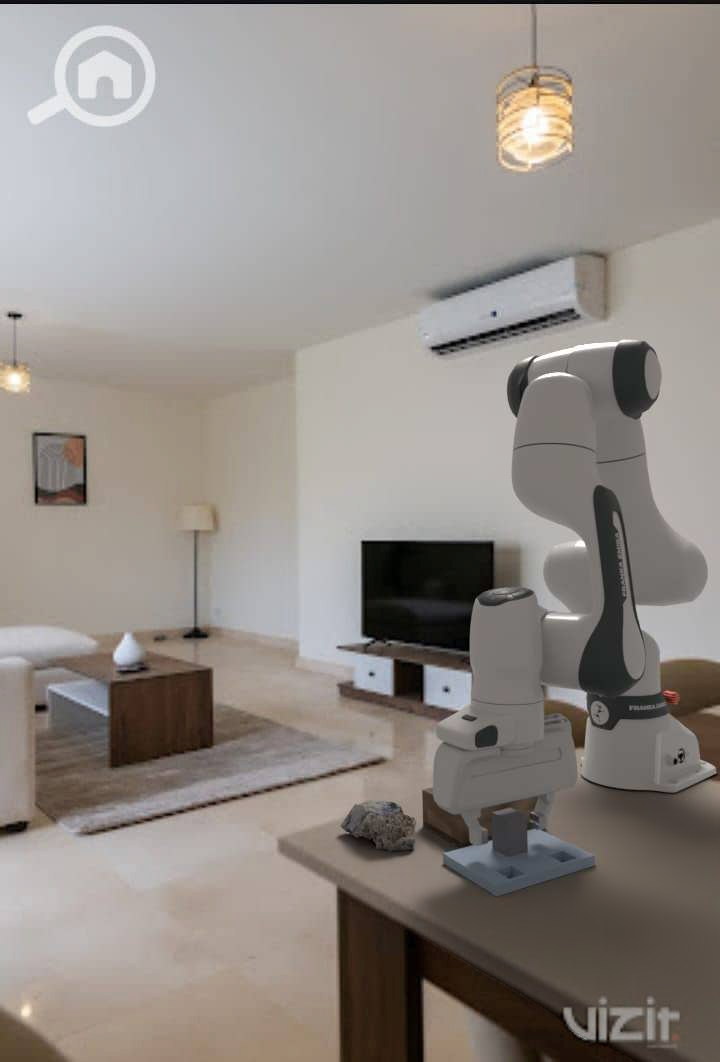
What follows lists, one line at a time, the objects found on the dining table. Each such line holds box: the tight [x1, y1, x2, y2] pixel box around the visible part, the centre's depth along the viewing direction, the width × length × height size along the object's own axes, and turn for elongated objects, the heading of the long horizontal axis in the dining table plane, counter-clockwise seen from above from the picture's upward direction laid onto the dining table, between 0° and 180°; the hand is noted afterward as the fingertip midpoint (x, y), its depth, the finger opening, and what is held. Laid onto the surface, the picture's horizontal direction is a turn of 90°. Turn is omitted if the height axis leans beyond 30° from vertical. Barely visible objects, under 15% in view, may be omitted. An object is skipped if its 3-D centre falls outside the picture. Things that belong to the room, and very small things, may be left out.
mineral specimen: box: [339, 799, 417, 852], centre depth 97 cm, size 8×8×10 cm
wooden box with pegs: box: [421, 787, 538, 849], centre depth 101 cm, size 14×9×8 cm, turn 119°
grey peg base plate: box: [442, 808, 596, 898], centre depth 89 cm, size 15×10×6 cm, turn 119°
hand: (509, 835), depth 90 cm, fingers open, 8 cm apart
